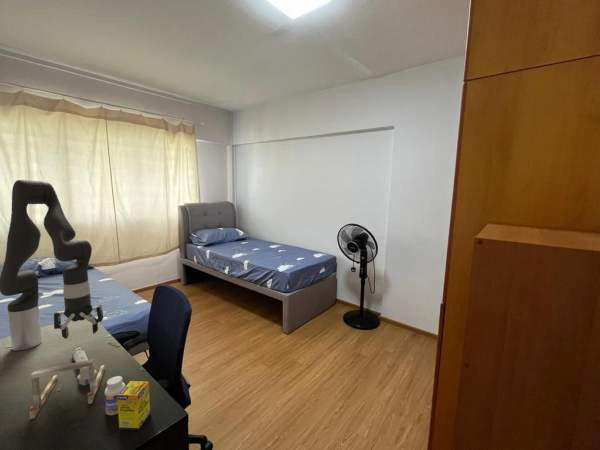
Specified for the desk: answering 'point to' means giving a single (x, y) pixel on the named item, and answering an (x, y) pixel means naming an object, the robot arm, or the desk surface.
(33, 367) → the desk surface
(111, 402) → the pill bottle
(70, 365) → the tan holder stand
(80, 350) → the white electric toothbrush
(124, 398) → the supplement box
